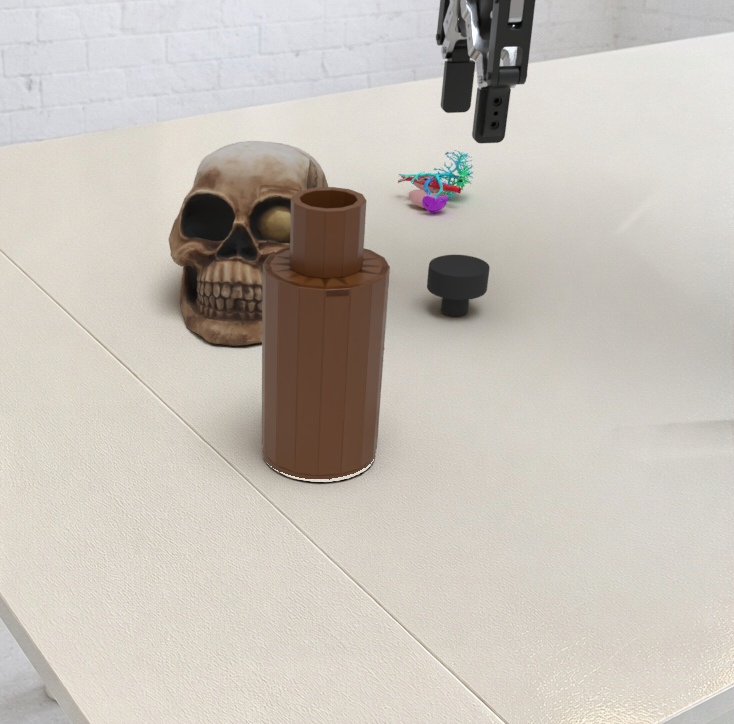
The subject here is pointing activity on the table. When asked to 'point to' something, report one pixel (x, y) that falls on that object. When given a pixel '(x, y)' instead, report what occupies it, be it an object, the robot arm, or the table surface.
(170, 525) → the table surface
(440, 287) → the bung
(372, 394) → the bottle
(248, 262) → the brown skull
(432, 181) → the anatomy model
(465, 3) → the robot arm
